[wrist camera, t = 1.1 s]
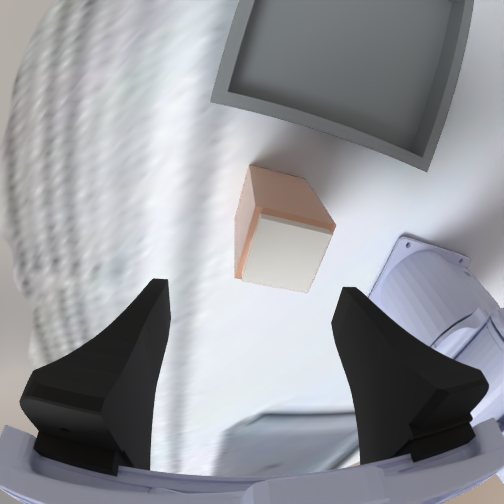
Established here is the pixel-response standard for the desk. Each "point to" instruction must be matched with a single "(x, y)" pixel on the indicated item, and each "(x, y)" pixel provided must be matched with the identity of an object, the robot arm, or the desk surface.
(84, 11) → the desk surface
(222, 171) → the desk surface
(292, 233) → the tan rectangular block
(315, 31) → the tray
